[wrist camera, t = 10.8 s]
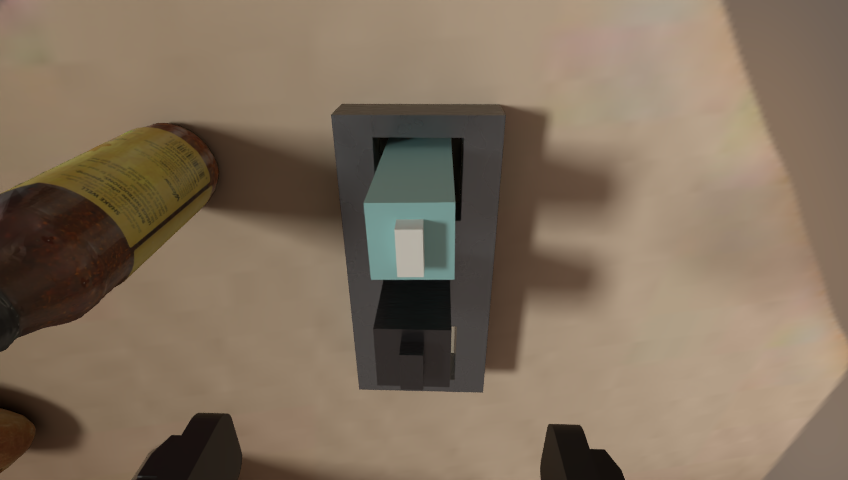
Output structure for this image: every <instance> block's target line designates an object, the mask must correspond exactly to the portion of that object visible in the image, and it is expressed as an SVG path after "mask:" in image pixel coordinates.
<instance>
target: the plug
mask: <svg viewBox="0 0 848 480" xmlns="http://www.w3.org/2000/svg"><path fill="white" fill-rule="evenodd" d="M364 213H365V224H366V234H367V244H368V255H369V265H370V275H371V280H455V190H454V175H453V161H452V146H451V138H406V137H389V139H388V141H387V144H386V146H385V149H384V151H383V154H382V157H381V159H380V162H379V164H378V167H377V170H376V172H375V175H374V177H373V180H372V182H371V185H370V188H369V190H368V193H367V195H366V198H365V201H364Z"/></svg>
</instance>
